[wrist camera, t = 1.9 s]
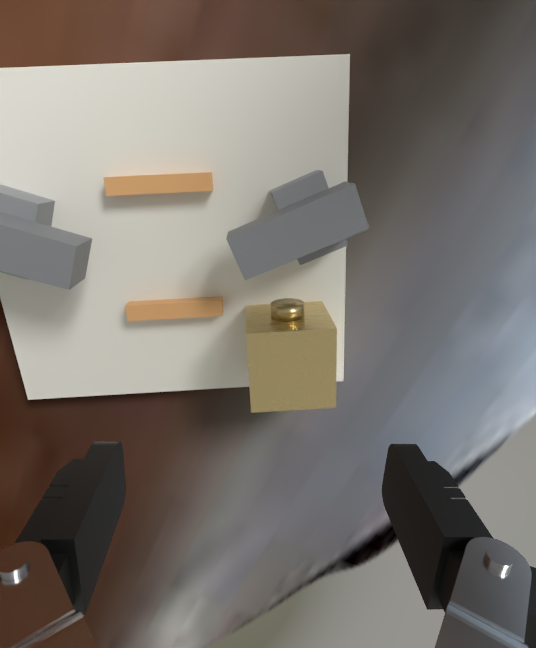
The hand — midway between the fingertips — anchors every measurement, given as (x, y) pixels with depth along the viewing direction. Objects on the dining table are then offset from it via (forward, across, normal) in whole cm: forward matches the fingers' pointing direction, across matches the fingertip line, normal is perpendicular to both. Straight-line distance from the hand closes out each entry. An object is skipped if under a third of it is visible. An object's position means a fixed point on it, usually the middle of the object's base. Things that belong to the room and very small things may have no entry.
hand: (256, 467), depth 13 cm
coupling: (+16, -2, +2) cm, 17 cm away
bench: (+18, +5, -4) cm, 19 cm away
